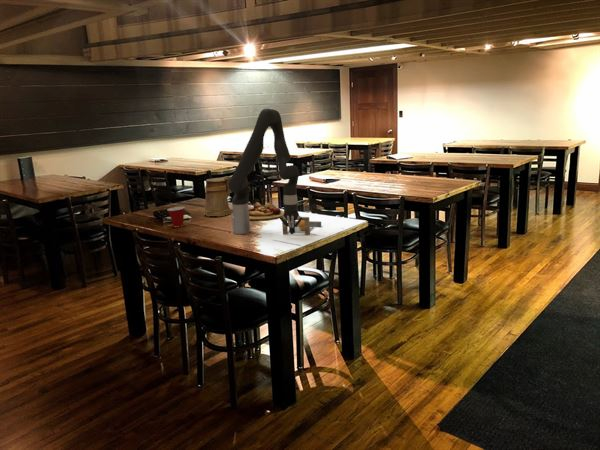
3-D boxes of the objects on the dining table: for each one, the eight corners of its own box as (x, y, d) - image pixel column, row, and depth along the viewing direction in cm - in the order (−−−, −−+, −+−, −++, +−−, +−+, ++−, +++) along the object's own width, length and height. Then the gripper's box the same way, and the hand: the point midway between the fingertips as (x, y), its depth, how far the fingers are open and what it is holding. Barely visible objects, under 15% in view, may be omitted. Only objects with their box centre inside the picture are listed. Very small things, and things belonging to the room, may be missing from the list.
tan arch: (308, 235, 277) (307, 218, 275) (282, 234, 281) (281, 217, 279) (310, 233, 280) (309, 217, 278) (284, 233, 284) (283, 216, 282)
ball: (297, 231, 286) (297, 221, 285) (299, 229, 292) (299, 218, 291) (307, 231, 285) (307, 221, 284) (309, 229, 291) (309, 219, 290)
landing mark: (286, 232, 285) (286, 232, 285) (293, 227, 297) (293, 227, 297) (308, 233, 281) (308, 233, 281) (314, 227, 293) (314, 227, 293)
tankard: (198, 216, 341) (194, 180, 335) (221, 209, 359) (218, 175, 354) (218, 218, 331) (214, 181, 325) (241, 211, 350) (238, 176, 344)
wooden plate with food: (241, 224, 314) (240, 211, 312) (234, 213, 344) (234, 201, 342) (290, 219, 322) (290, 207, 320) (279, 210, 352) (279, 198, 350)
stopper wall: (288, 226, 299) (287, 221, 298) (289, 225, 301) (288, 220, 300) (320, 227, 294) (320, 222, 293) (321, 226, 296) (321, 221, 295)
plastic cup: (175, 224, 320) (173, 205, 318) (190, 224, 317) (188, 206, 314) (165, 228, 311) (163, 209, 308) (180, 228, 307) (178, 209, 304)
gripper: (304, 201, 270) (305, 232, 274) (281, 201, 274) (282, 231, 278) (300, 204, 263) (302, 236, 267) (276, 204, 267) (278, 235, 271)
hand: (292, 233), depth 273 cm, fingers closed
